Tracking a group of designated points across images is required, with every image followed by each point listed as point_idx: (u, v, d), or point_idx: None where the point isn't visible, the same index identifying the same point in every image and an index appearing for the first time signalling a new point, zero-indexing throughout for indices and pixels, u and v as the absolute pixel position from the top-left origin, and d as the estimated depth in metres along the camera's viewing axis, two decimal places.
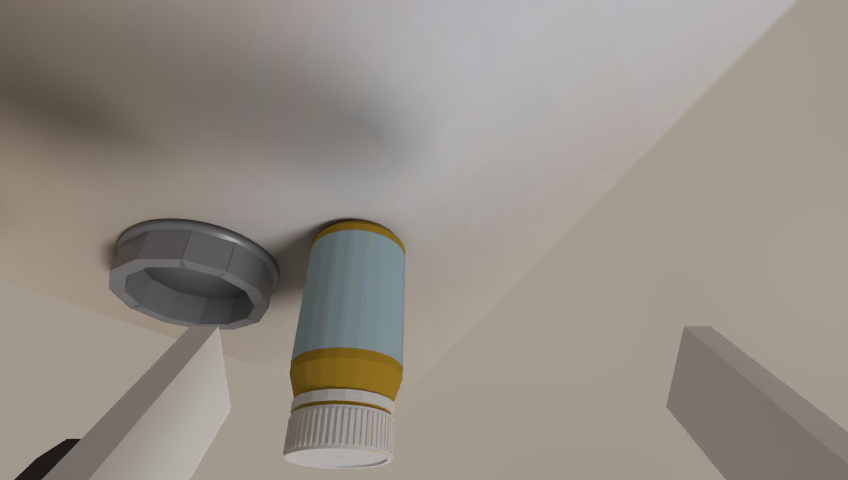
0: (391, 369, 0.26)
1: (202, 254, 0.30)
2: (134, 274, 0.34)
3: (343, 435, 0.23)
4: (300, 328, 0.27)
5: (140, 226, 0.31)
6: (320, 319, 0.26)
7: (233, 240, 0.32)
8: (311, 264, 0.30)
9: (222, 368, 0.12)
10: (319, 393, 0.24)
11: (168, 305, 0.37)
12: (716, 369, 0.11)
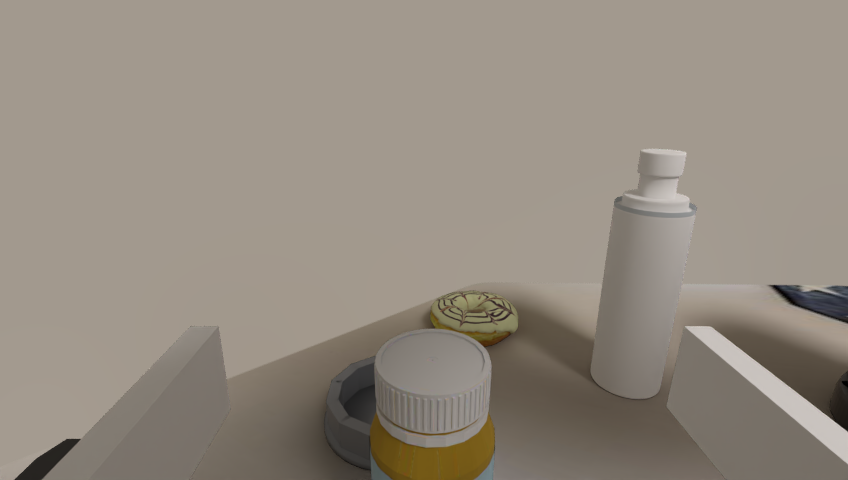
0: (472, 468, 0.22)
1: None
2: None
3: None
4: None
5: None
6: None
7: None
8: None
9: (222, 368, 0.12)
10: None
11: (361, 376, 0.43)
12: (716, 369, 0.11)
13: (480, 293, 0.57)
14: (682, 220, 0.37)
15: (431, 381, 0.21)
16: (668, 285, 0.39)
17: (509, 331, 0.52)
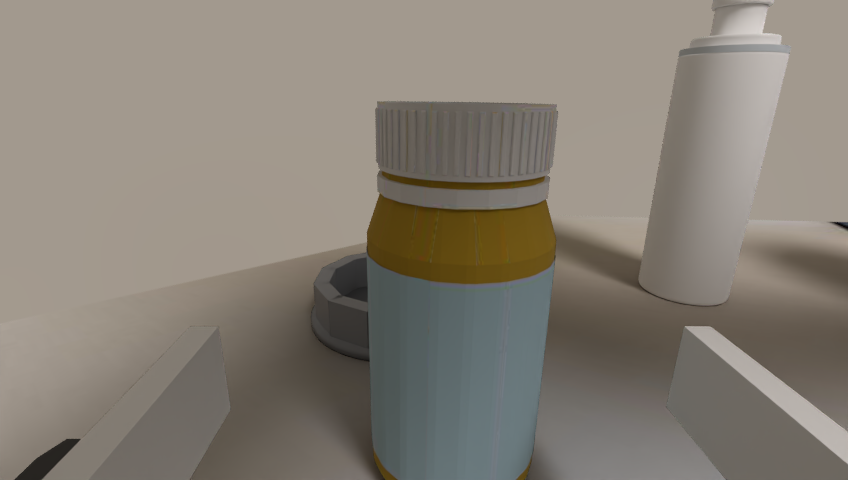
0: (527, 256, 0.14)
1: None
2: None
3: None
4: None
5: None
6: None
7: None
8: None
9: (223, 368, 0.12)
10: None
11: (359, 270, 0.35)
12: (716, 369, 0.11)
13: None
14: (775, 56, 0.29)
15: None
16: (751, 149, 0.30)
17: None
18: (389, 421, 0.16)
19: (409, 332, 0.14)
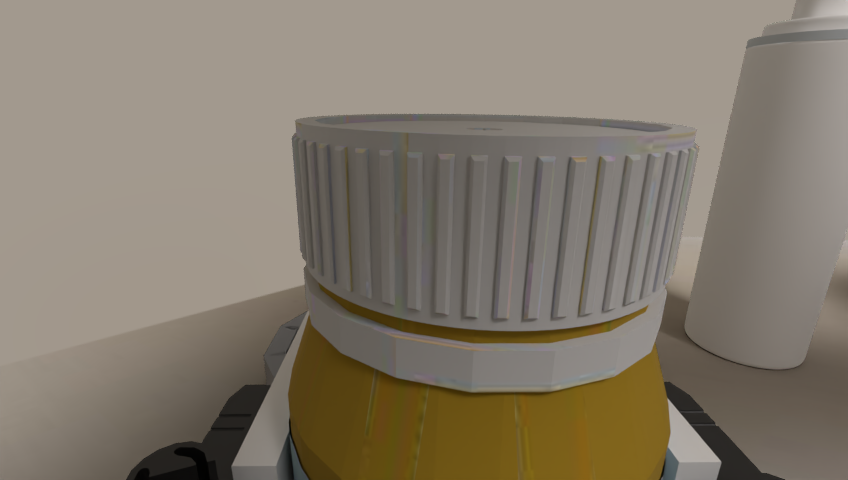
0: (634, 478, 0.06)
1: None
2: None
3: None
4: None
5: None
6: None
7: None
8: None
9: None
10: None
11: None
12: None
13: None
14: None
15: None
16: None
17: None
18: None
19: None
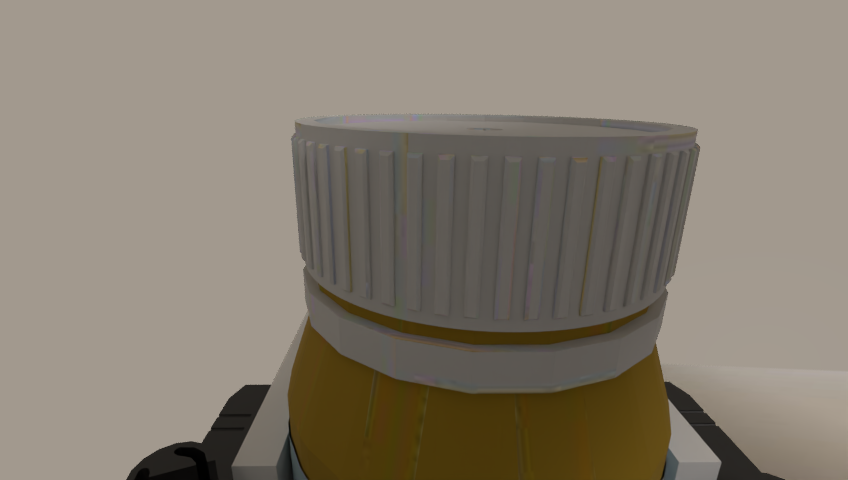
0: None
1: None
2: None
3: None
4: None
5: None
6: None
7: None
8: None
9: None
10: None
11: None
12: None
13: None
14: None
15: None
16: None
17: None
18: None
19: None
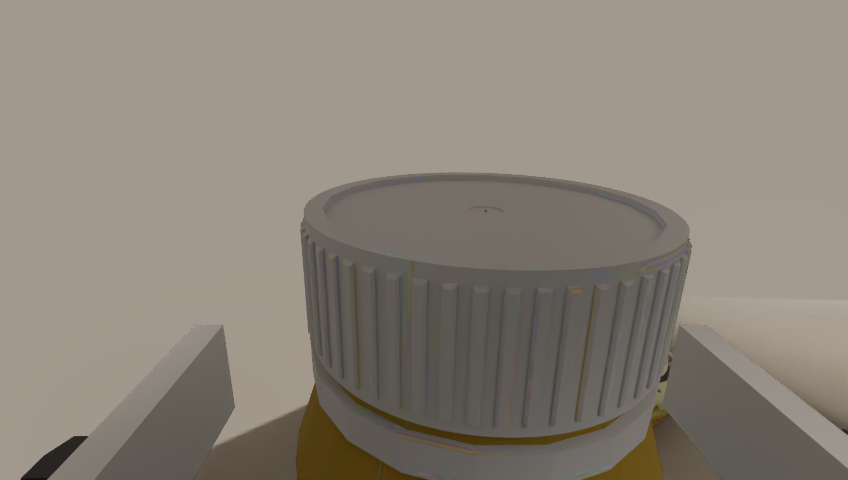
0: None
1: None
2: None
3: None
4: None
5: None
6: None
7: None
8: None
9: (227, 366, 0.12)
10: None
11: None
12: (711, 367, 0.11)
13: None
14: None
15: (495, 244, 0.06)
16: None
17: None
18: None
19: None
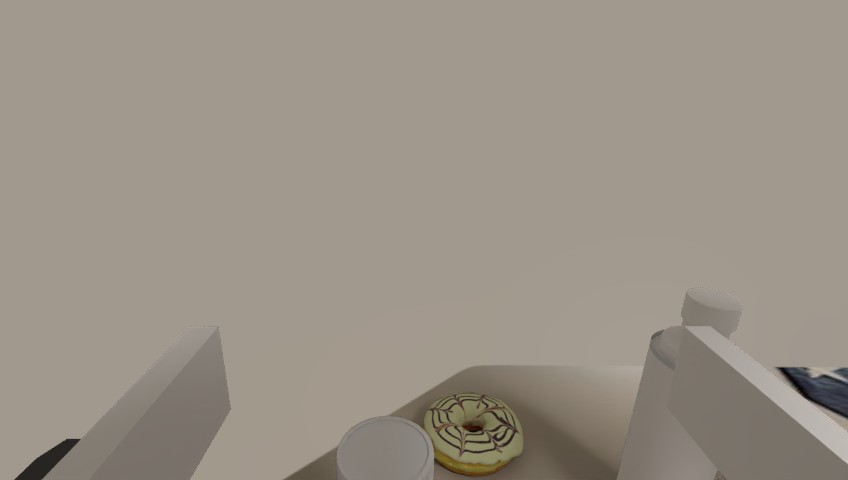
0: None
1: None
2: None
3: None
4: None
5: None
6: None
7: None
8: None
9: (223, 368, 0.12)
10: None
11: None
12: (716, 369, 0.11)
13: (478, 399, 0.50)
14: None
15: (383, 476, 0.26)
16: None
17: (514, 456, 0.45)
18: None
19: None
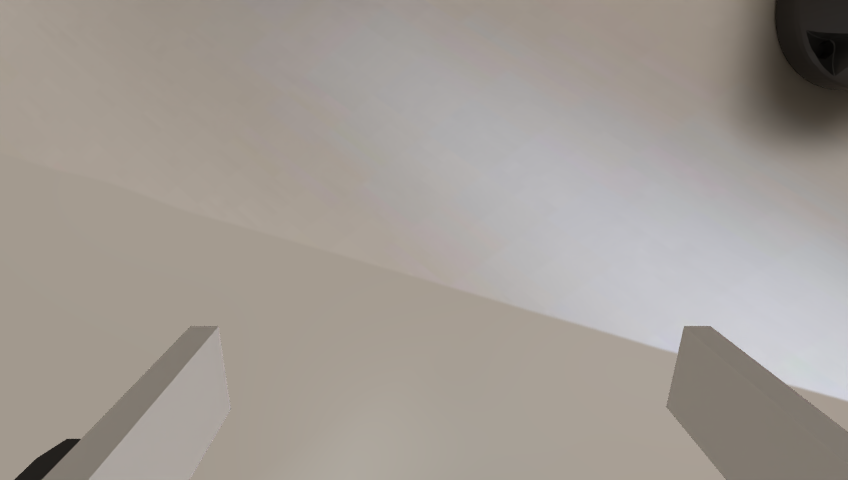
0: None
1: None
2: None
3: None
4: None
5: None
6: None
7: None
8: None
9: (223, 368, 0.12)
10: None
11: None
12: (716, 369, 0.11)
13: None
14: None
15: None
16: None
17: None
18: None
19: None
